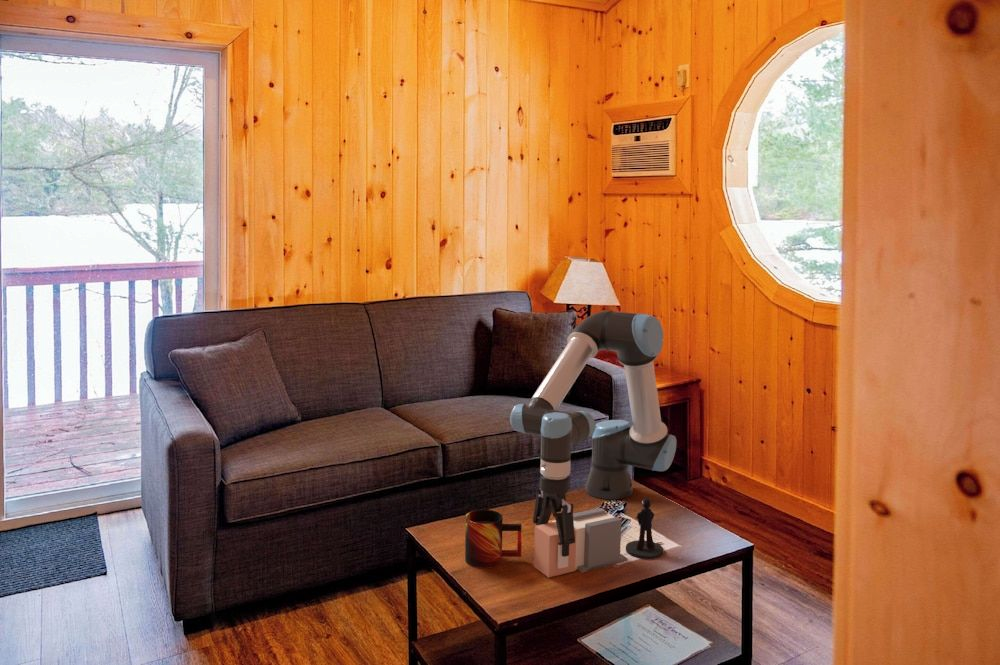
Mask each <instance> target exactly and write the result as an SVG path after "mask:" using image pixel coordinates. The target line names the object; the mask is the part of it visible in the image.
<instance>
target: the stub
mask: <svg viewBox="0 0 1000 665" xmlns="http://www.w3.org/2000/svg"><path fill="white" fill-rule="evenodd" d="M574 533H575V543H572V544H569V556H568V567H564V568H560V569H559V568H557V563H558V543H560V538H559V534H558V529H557V524H556V521H552V522H548V523H547V524H542V525H537V524H536V525H534V541H533V543H534V544H533V545H534V546H533V547H534V548H533V549H534V550H533V567H534V568H535V569H536V570H538V571H539V572H541V573H542V574H543V575H544V576H546V577H547V578H553V577H557V576H560V575H563V574H569V573H572V572H575V571H576V570H575V556H576V530H575V529H574Z"/></svg>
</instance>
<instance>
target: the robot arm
mask: <svg viewBox="0 0 1000 665" xmlns="http://www.w3.org/2000/svg"><path fill="white" fill-rule="evenodd" d="M663 340H664V331H663V326H662V323H661V322H660V320H659V319H658V318H657V317H656V316H654V315H651V314H646V313H643V312H642V313H641V312H639V313H636V312H635V313H634V312H625V311H616V310H615V311H614V310H609V309H608V310H606V309H605V310H601V311H597V312H595V313H593V314H591V315H589V316H588V317H586V318H584V319H582V321H580V322H579V323H578V324H577V325H576V326H575V327H574V328H573V330H571V333H570V334H569V335H568V337H567V338H566V342H567V345H566V346H565V347H564V349H563V350H562V352H560V354H559V356H558V358H557V359H556V360H555V363H554V364H553V365H552V366H551V368H550V370H549V371H548V373H547V374H546V376H545V377H544V378H543V380H542V382H541V383H540V385H539V386H538V387H537V389H536V391H535V392H534V394H533V395H532V397H531V398H530V399H529V401H528V402H527V404H526V403H518V404H516V405H514V406H513V408H512V409H511V413H510V416H509V423H510V425H511V428H512V429H513V430H514V431H516V432H518V433H523V434H525V435H532V436H538V437H540V467H539V469H540V470H539V473H540V476H539V488H537V489H535V494H536V495H535V496H536V498H535V503H534V504H535V506H534V510H533V517H532V523H533V524H534V525H536V526H537V525H542V524H547V523H549V521H550V518H551V516H552V517H554V519H555V522H556V524H557V529H558V534H559V538H560V543H558V563H557V568H559V569H560V568H564V567H568V556H569V544H572V543H575V533H574V521H573V514H574V507H575V506H574V503H568V502H567V497H566V494H567V493H568V492H569V491H570V489H571V488H570V486H571V476H570V475H571V465H572V464H571V453H572V447H575V445H578V444H580V443H582V442H586V441H587V439H589V438H590V437H591V438H592V446H591V447H592V448H591V449H592V450H591V452H592V453H591V468H590V471H589V474H588V477H587V480H586V482H585V493H587V494H588V495H589V496H591V497H594V498H597V499H602V500H623V499H626V498H629V497H631V496H632V495H633V490H634V489H633V488H634V486H633V482H632V479H631V475H630V472H629V466H632V467H636V468H640V469H645V470H650V471H656V472H665V471H667V470H668V469H669V468H670V466H671V465H672V463H673V460H674V457H675V455H676V454H675V453H676V451H677V438H676V436H675V435H672V434H669V433H668V426H667V425H666V424H665V423H664V422H662V417H661V410H660V403H659V402H660V401H659V394H658V388H657V380H656V372H655V364H654V361H655V360H656V359H657V357H658V355H660V354H661V352H662V349H663V345H664V342H663ZM600 351H611V352H616V356H617V361H618V362H619V363H620V364H621V365H622V366H623V367H624V375H625V382H626V387H627V394H628V401H629V407H630V408H629V409H630V414H631V419H632V420H631V421H632V426H631V423H630V421H629V420H624V419H610V420H609V419H608V420H603V421H600V422H597V423H596V421H595V418H594V416H593V415H592V414H590V412H588V411H586V410H579V411H578V410H577V411H574V412H568V411H561V410H558V408H559V407H560V405H561V404H562V402H563V401H564V399H565V397H566V396H567V394H569V391H570V390H571V388H572V387H573V385H574V384H575V383H576V380H577V379H578V377H579V376H580V374H581V372H582V371H583V370H584V368H585V366H586V365H587V363H588V361H589V360H590V359H592V358H594V357H596V356H597V354H598V353H599V352H600Z"/></svg>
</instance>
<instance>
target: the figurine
mask: <svg viewBox="0 0 1000 665" xmlns="http://www.w3.org/2000/svg"><path fill="white" fill-rule="evenodd" d="M641 503H642V507H643V508H642V509H641V510H640V512H639V511H638V513H637V514H636V515H635V519H637V521H638V525H639V538H638V539H637V540H632V541H629V542H628V543H626V545H625V552H626V554H628V555H629V556H631V557H633V558H636V559H641V560H656V559H659V558H661V557H662V556H664V551H665V550H664V547H663V546H662V545H661V544H659V543H657V542H654V538H653V533H652V526H653V525H652V524H653V523H652V521H653V519H654V516H655V513H654V512H653V511H652V509H651V508H650V507H651V505H652V503H651V500H650V499H649V498H648V497H645V498H643V500H641ZM645 536H646V539H645Z"/></svg>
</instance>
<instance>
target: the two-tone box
mask: <svg viewBox="0 0 1000 665" xmlns="http://www.w3.org/2000/svg"><path fill="white" fill-rule="evenodd" d="M573 521H574V529H575V530H576V556H575V571H576V570H578V571H579V572H580V573H585V572H589V571H593V570H598V569H601V568H605V567H609V566H610V567H611V566H613V565H617V564H621V563H625V562H628V557H626V556H625V555H623V554H622V553H621V544H622V543H621V540H622V519H621V518H620V517H618V516H614V515H612V514H611V513H609V512H608V513H606V510H605V509H604V508H602V507H599V508H593V509H589V510H584V511H579V512H575V513H574V512H573Z"/></svg>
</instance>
